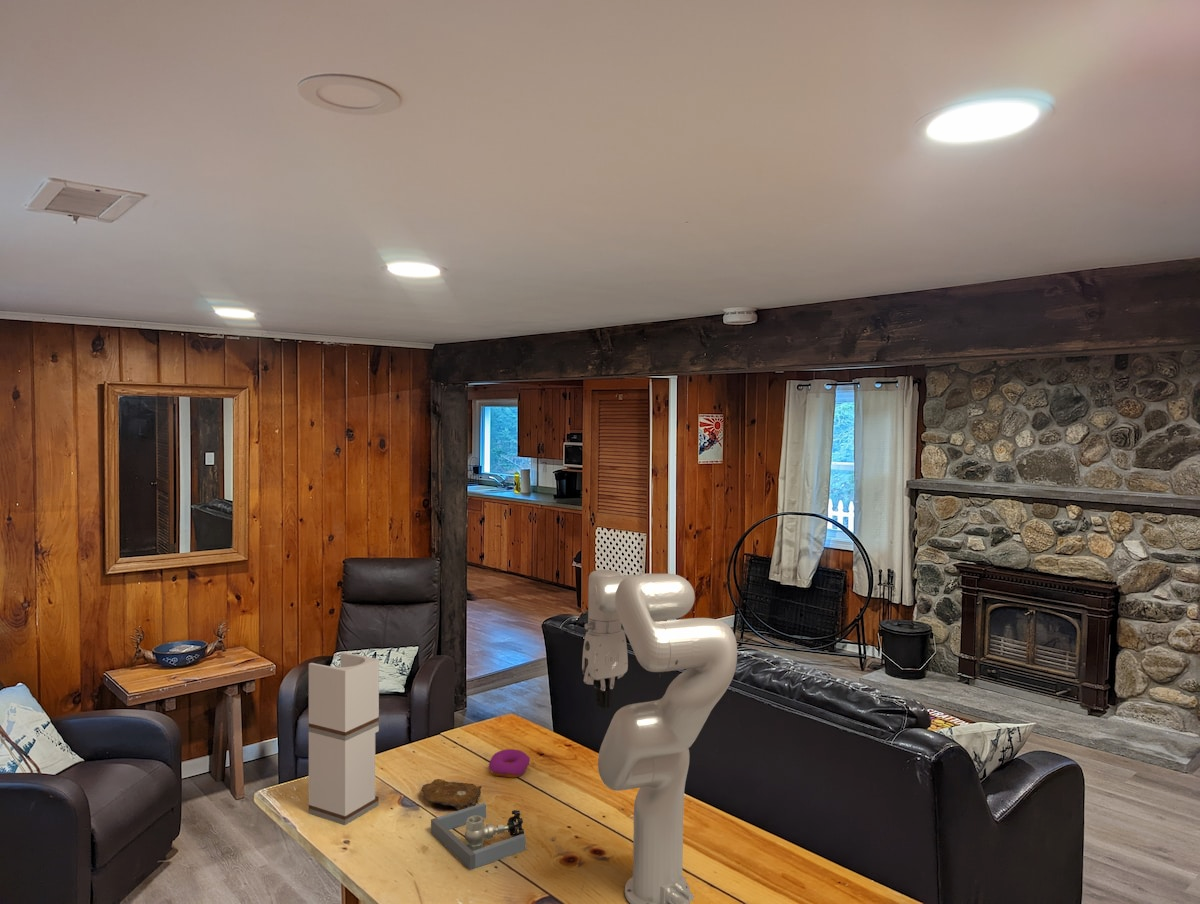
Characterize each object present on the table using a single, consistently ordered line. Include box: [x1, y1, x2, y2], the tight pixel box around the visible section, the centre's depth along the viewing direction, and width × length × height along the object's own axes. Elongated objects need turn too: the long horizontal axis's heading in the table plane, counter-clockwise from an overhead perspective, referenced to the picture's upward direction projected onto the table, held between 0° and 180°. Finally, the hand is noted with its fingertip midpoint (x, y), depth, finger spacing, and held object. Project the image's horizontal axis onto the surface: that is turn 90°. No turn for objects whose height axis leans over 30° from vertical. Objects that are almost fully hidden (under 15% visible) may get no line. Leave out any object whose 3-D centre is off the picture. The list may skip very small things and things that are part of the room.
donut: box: [488, 748, 531, 779], centre depth 206 cm, size 10×10×5 cm
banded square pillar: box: [308, 652, 380, 826], centre depth 184 cm, size 11×11×35 cm
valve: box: [464, 809, 525, 851], centre depth 169 cm, size 7×7×12 cm
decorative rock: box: [420, 778, 483, 811], centre depth 190 cm, size 11×4×15 cm
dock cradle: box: [430, 802, 527, 871], centre depth 171 cm, size 18×13×3 cm
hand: (603, 705), depth 178 cm, fingers closed
